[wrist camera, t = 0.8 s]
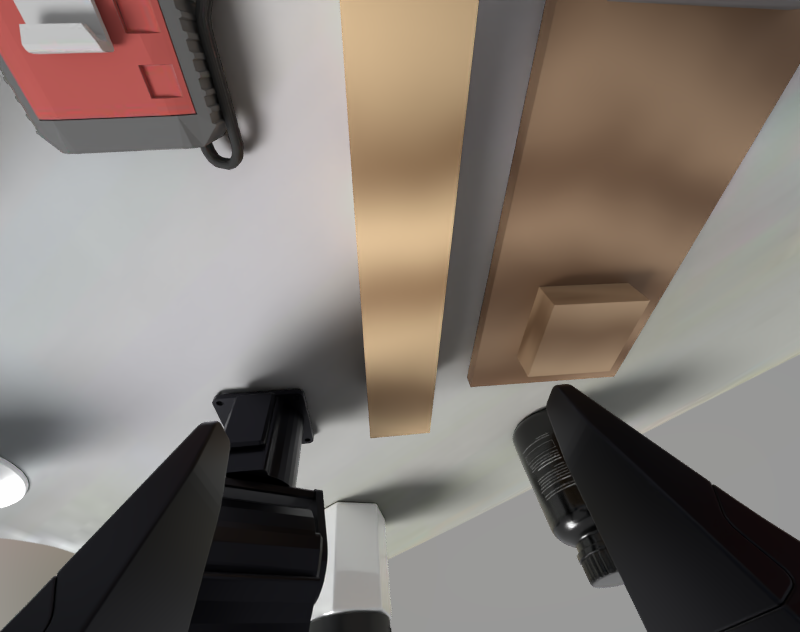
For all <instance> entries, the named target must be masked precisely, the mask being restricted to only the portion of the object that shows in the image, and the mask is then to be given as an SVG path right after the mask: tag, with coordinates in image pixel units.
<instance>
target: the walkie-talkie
mask: <svg viewBox="0 0 800 632" xmlns="http://www.w3.org/2000/svg"><path fill="white" fill-rule="evenodd" d="M211 9H212V0H0V70H1V71H2V73H3V75H4V76H5V77H4V80H5V81H6V83H7V84H9V85H10V86H11V88H12V90H13V91H14V93H15V95H16V96H15V98H16V99H17V101H18V102H19V103H21V105H22V106H23V108H24V110H25V111H26V113H27V114H26V116H27V118H28V119H29V120H31V121H32V123H33V125H34V126H35V128H36V130H37V131H36V133H37V134H38V135H40V136H41V137H42V138H44V139H45V140H46V141H48V142H49V143H50V144H52V145H53V146H54V147H56V148H57V149H58V150H60V151H61V152H62V153H66V154H81V153H103V152H124V151H146V150H167V149H188V148H198V147H201V150H202V152H203V154H204V156H205V157H206V158H207V160H208V161H209V162H210V163H211V164H213V165H214V166H215V167H218V168H223V169H228V170H230V169H233V168H236V167H237V166H238V165H239V164H240V163H241V161H242V159H243V141H242V137H241V134H240V130H239V127H238V123H237V119H236V116H235V112H234V109H233V105H232V101H231V98H230V94H229V90H228V87H227V83H226V80H225V76H224V72H223V69H222V65H221V62H220V58H219V54H218V51H217V47H216V43H215V39H214V35H213V31H212V25H211ZM226 129H227V131H228V135H229V138H230V141H231V146H232V156H231V158H230V159H229V158H224V157H221V156H220V155H218V153H217V152H216V150H215V149H214V146H213V144H212V142H213V141H215V140H217V139H218V138H220V137H222V136H223V135H224V133H225V131H226Z"/></svg>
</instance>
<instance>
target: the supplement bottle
mask: <svg viewBox="0 0 800 632" xmlns="http://www.w3.org/2000/svg"><path fill="white" fill-rule="evenodd" d="M513 443H514V446H515V448H516V451H517V453H518V456H519V458H520V460H521V463H522V465H523V467H524V469H525V472H526V474H527V476H528V478H529V481H530V483H531V485H532V488H533V490H534V492H535V494H536V496H537V499H538V501H539V503H540V506H541V508H542V510H543V513H544V515H545V517H546V520H547V522H548V524H549V526H550V528H551V530H552V532H553V534H554V535H555V536H556V537H557V538H558V539H559V540H560V541H561V542H563V543H564V544H566V545H568V546H572V547H575V548H577V550H578V552H579V553H578V555H577V558H578V560H579V562H580V564H581V565H582V567H583V568H584V571H585V573H586V575H587V578H588V580H589V582H590V584H591V585H592V586H593V587H596V588H607V587H614V586H619V585H623V584H624V583H623V580H622V578H621V576H620V574H619V572H618V570H617V568H616V566H615V564H614V562H613V560H612V558H611V556H610V554H609V552H608V549H607V547H606V545H605V543H604V541H603V539H602V537H601V535H600V533H599V531H598V529H597V527H596V525H595V523H594V521H593V518H592V516H591V514H590V512H589V510H588V508H587V506H586V504H585V502H584V500H583V498H582V496H581V494H580V492H579V490H578V487H577V485H576V483H575V481H574V479H573V477H572V475H571V473H570V471H569V469H568V466H567V464H566V462H565V459H564V457H563V454H562V451H561V449H560V446H559V443H558V440H557V438H556V435H555V432H554V429H553V427H552V424H551V421H550V418H549V416H548V413H547V409H546V410H543V411H540V412H537V413H535V414H533V415H531V416H529V417H528V418H526V419H525V420H523V421H522V422H521V423H520V424H519V425H518V426H517V428H516V430H515V431H514V434H513Z"/></svg>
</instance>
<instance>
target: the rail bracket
mask: <svg viewBox="0 0 800 632" xmlns="http://www.w3.org/2000/svg"><path fill="white" fill-rule="evenodd" d="M799 64H800V0H546V2H545V7H544V12H543V17H542V21H541V26H540V31H539V36H538V41H537V45H536V50H535V55H534V60H533V65H532V69H531V74H530V79H529V84H528V88H527V93H526V98H525V103H524V108H523V112H522V117H521V122H520V127H519V132H518V136H517V141H516V146H515V151H514V156H513V160H512V165H511V170H510V175H509V179H508V184H507V189H506V194H505V199H504V203H503V208H502V213H501V218H500V223H499V227H498V232H497V237H496V242H495V247H494V251H493V256H492V261H491V266H490V270H489V275H488V280H487V285H486V290H485V294H484V299H483V304H482V309H481V314H480V318H479V323H478V328H477V333H476V338H475V342H474V347H473V352H472V357H471V361H470V366H469V371H468V376H467V378H468V381H469V384H470V386H471V387H477V386H491V385H504V384H518V383H531V382H545V381H558V380H572V379H586V378H599V377H613V376H615V374H616V373H617V371H618V369H619V368H620V366H621V364H622V362H623V361H624V359H625V357H626V356H627V354H628V352H629V351H630V349H631V347H632V346H633V344H634V342H635V341H636V339H637V337H638V335H639V334H640V332H641V330H642V329H643V327H644V325H645V324H646V322H647V320H648V319H649V317H650V315H651V314H652V312H653V310H654V309H655V307H656V305H657V303H658V302H659V300H660V298H661V297H662V295H663V293H664V292H665V290H666V288H667V287H668V285H669V283H670V282H671V280H672V278H673V276H674V275H675V273H676V271H677V270H678V268H679V266H680V265H681V263H682V261H683V260H684V258H685V256H686V255H687V253H688V251H689V250H690V248H691V246H692V244H693V243H694V241H695V239H696V238H697V236H698V234H699V233H700V231H701V229H702V228H703V226H704V224H705V223H706V221H707V219H708V218H709V216H710V214H711V212H712V211H713V209H714V207H715V206H716V204H717V202H718V201H719V199H720V197H721V196H722V194H723V192H724V191H725V189H726V187H727V185H728V184H729V182H730V180H731V179H732V177H733V175H734V174H735V172H736V170H737V169H738V167H739V165H740V164H741V162H742V160H743V159H744V157H745V155H746V153H747V152H748V150H749V148H750V147H751V145H752V143H753V142H754V140H755V138H756V137H757V135H758V133H759V132H760V130H761V128H762V127H763V125H764V123H765V121H766V120H767V118H768V116H769V115H770V113H771V111H772V110H773V108H774V106H775V105H776V103H777V101H778V100H779V98H780V96H781V94H782V93H783V91H784V89H785V88H786V86H787V84H788V83H789V81H790V79H791V78H792V76H793V74H794V73H795V71H796V69H797V68H798V66H799Z"/></svg>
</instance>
